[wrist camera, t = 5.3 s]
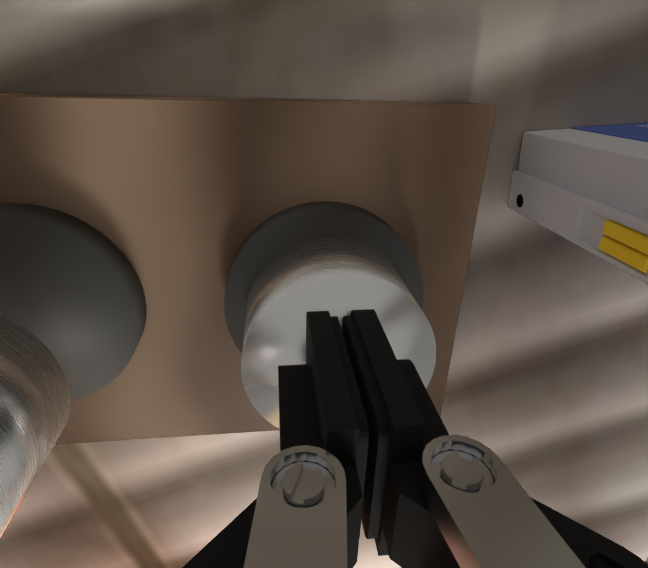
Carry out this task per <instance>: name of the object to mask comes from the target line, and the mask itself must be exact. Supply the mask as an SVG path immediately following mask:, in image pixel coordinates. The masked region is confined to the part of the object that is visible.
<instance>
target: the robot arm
mask: <svg viewBox="0 0 648 568" xmlns="http://www.w3.org/2000/svg"><path fill="white" fill-rule="evenodd" d="M278 388H279V422H280V452H279V453H278V454H276V455H275V456H273V457H272V458H271V460H270V461H269V462H268V463H267V464H266V466H265V468H264V471H263V473H262V476H261V481H260V486H259V491H258V496H257V499H256V500H254V501H253V502H252V503H251V504H250V505H249V506H248V507H247V508H246V509H245V510H244V511H243V512H242V513H240V514H239V515H238V516H237V517H236V518H235V519H234V520H233V521H232V522H231V523H230V524H229V525H228V526H227V527H225V528H224V529H223V530H222V531H221V532H220V533H219V534H218V535H217V536H216V537H215V538H214V539H213V540H212V541H210V542H209V543H208V544H207V545H206V546H205V547H204V548H203V549H202V550H201V551H200V552H199V553H198V554H196V555H195V556H194V557H193V558H192V559H191V560H190V561H189V562H188V563H187V564H186V565H185V566H184V567H183V568H353V566H354V565H355V564H356V562H357V554H358V544H359V537H360V527H361V519H362V524H363V529H364V533H365V536H366V538H367V539H371V538H375V543H376V547H377V551H378V556H381V555H389V557H390V559H391V560H393V561H394V562H395V563H397V564H398V565H399V566H401V567H402V568H648V558H647V560H646V561H643V560H642V559H640V558H639V557H638V556H636V555H635V554H633V553H632V552H630V551H629V550H627V549H626V548H624V547H622V546H620V545H618V544H617V543H615V542H613V541H611V540H609V539H607V538H605V537H604V536H602V535H600V534H598V533H596V532H594V531H592V530H590V529H589V528H587V527H585V526H583V525H581V524H579V523H577V522H575V521H574V520H572V519H570V518H568V517H566V516H564V515H562V514H561V513H559V512H557V511H555V510H553V509H551V508H549V507H547V506H546V505H544V504H542V503H540V502H538V501H536V500H534V499H532V498H531V497H529V495H528V494H527V493H526V492H525V490H524V489H523V488H522V486H521V485H520V484H519V483H518V481H517V480H516V479H515V478H514V476H513V475H512V474H511V473H510V471H509V470H508V469H507V467H506V466H505V465H504V464H503V462H502V461H501V460H500V459H499V457H498V456H497V455H496V454H495V453H494V452H493V451H492V450H491V449H490V448H488V447H487V446H485V445H483V444H482V443H480V442H479V441H476V440H474V439H471V438H468V437H465V436H459V435H449V434H448V432H447V430H446V428H445V426H444V424H443V422H442V420H441V418H440V416H439V414H438V412H437V410H436V408H435V406H434V404H433V402H432V400H431V398H430V396H429V394H428V392H427V390H426V388H425V386H424V384H423V382H422V380H421V378H420V376H419V374H418V372H417V370H416V368H415V366H414V364H413V362H412V361H411V360H409V359H401V360H397V359H396V356H395V354H394V352H393V350H392V347H391V345H390V343H389V341H388V338H387V336H386V334H385V332H384V330H383V327H382V325H381V323H380V321H379V318H378V316H377V314H376V312H375V310H374V309H364V310H352V311H351V314H350V316H344V317H343V325H342V330H341V326H340V323H339V319H338V316H330V313H329V311H308V312H307V313H306V364H300V365H279V366H278Z"/></svg>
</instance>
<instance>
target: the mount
mask: <svg viewBox="0 0 648 568" xmlns="http://www.w3.org/2000/svg"><path fill="white" fill-rule="evenodd" d="M495 111H496V107H495V106H488V105H481V104H474V103H456V102H409V101H362V100H315V99H268V98H221V97H174V96H127V95H80V94H33V93H0V313H2V314H3V315H5V316H7V317H9V318H11V319H13V320H14V321H16V322H17V323H19V324H20V325H22V326H23V327H24V328H26V329H27V330H29V331H30V332H31V333H32V334H33V335H34V336H36V337H37V338H38V339H39V340H40V341H41V342H42V343H43V344H44V345H45V346H46V347H47V348H48V349H49V350H50V352H51V353H52V354H53V356H54V357H55V358H56V360H57V361H58V363H59V365H60V366H61V368H62V370H63V372H64V374H65V377H66V379H67V382H68V385H69V390H70V397H71V407H70V413H69V417H68V420H67V423H66V425H65V427H64V429H63V431H62V432H61V434H60V436H59V437H58V439H57V441H56V443H55V444H69V443H85V442H100V441H116V440H131V439H147V438H163V437H178V436H194V435H209V434H225V433H241V432H256V431H272V430H280V429H279V428H277V427H275V426H274V425H272V424H271V423H270V422H268V421H267V420H266V419H264V418H263V417H262V416H261V415H260V413H259V412H258V411H257V410H256V409H255V407H254V406H253V405H252V403H251V402H250V400H249V398H248V396H247V394H246V392H245V388H244V385H243V381H242V375H241V359H242V349H243V339H244V328H245V318H246V308H247V300H248V294H249V291H250V288H251V285H252V283H253V281H254V279H255V277H256V275H257V274H258V272H259V271H260V269H261V268H262V267H263V266H264V265H265V264H266V262H267V261H268V260H269V259H270V258H272V257H273V256H274V255H275V254H276V253H278V252H279V251H281V250H282V249H284V248H285V247H287V246H289V245H291V244H293V243H295V242H298V241H301V240H304V239H307V238H312V237H317V236H327V235H332V236H344V237H349V238H353V239H356V240H359V241H362V242H364V243H366V244H368V245H370V246H372V247H374V248H375V249H377V250H378V251H379V252H381V253H382V254H383V255H384V256H385V257H386V258H387V259H388V260H389V261H390V263H391V264H392V265H393V266H394V268H395V270H396V271H397V273H398V274H399V276H400V277H401V279H402V280H403V282H404V283H405V285H406V286H407V288H408V290H409V291H410V293H411V294H412V296H413V297H414V299H415V300H416V302H417V303H418V305H419V307H420V308H421V310H422V311H423V313H424V314H425V316H426V318H427V319H428V321H429V323H430V325H431V327H432V330H433V333H434V337H435V341H436V363H435V367H434V371H433V375H432V377H431V380H430V382H429V384H428V386H427V388H426V390H427V392H428V394H429V396H430V398H431V400H432V402H433V404H434V406H435V408H436V410H437V412H438V414H439V416H440V415H441V409H442V404H443V398H444V393H445V387H446V382H447V376H448V371H449V365H450V360H451V354H452V349H453V343H454V337H455V332H456V326H457V321H458V315H459V310H460V304H461V299H462V293H463V288H464V282H465V277H466V271H467V266H468V260H469V255H470V249H471V244H472V238H473V233H474V227H475V222H476V216H477V211H478V205H479V200H480V194H481V189H482V183H483V178H484V172H485V167H486V161H487V156H488V150H489V145H490V139H491V134H492V128H493V123H494V117H495Z"/></svg>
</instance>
